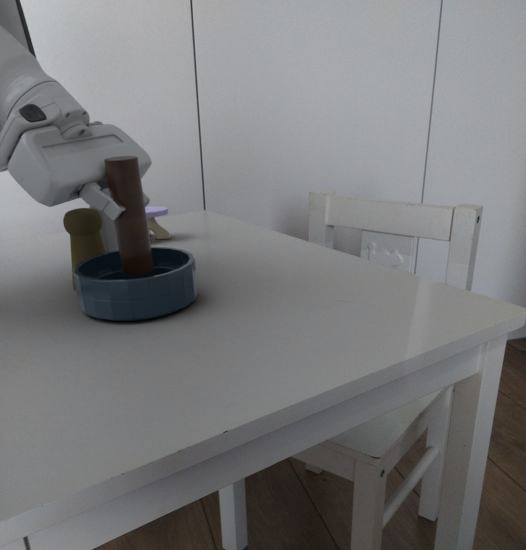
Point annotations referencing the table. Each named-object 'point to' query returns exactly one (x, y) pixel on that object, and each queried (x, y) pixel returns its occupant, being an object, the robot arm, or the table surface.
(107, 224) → the salt shaker
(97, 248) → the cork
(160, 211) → the toy table
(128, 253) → the brown wooden cylinder
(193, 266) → the bowl
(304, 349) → the table surface
